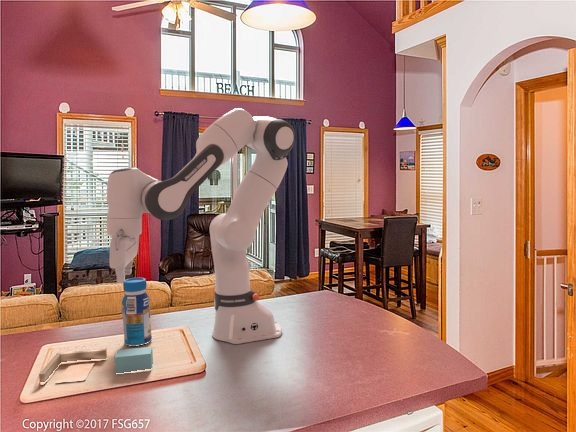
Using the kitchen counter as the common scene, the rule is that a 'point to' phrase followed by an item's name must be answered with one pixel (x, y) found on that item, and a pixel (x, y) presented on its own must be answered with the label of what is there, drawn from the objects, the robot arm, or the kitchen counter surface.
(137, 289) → the beverage bottle
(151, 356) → the teal block
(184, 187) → the robot arm
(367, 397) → the kitchen counter surface
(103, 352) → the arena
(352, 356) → the kitchen counter surface
